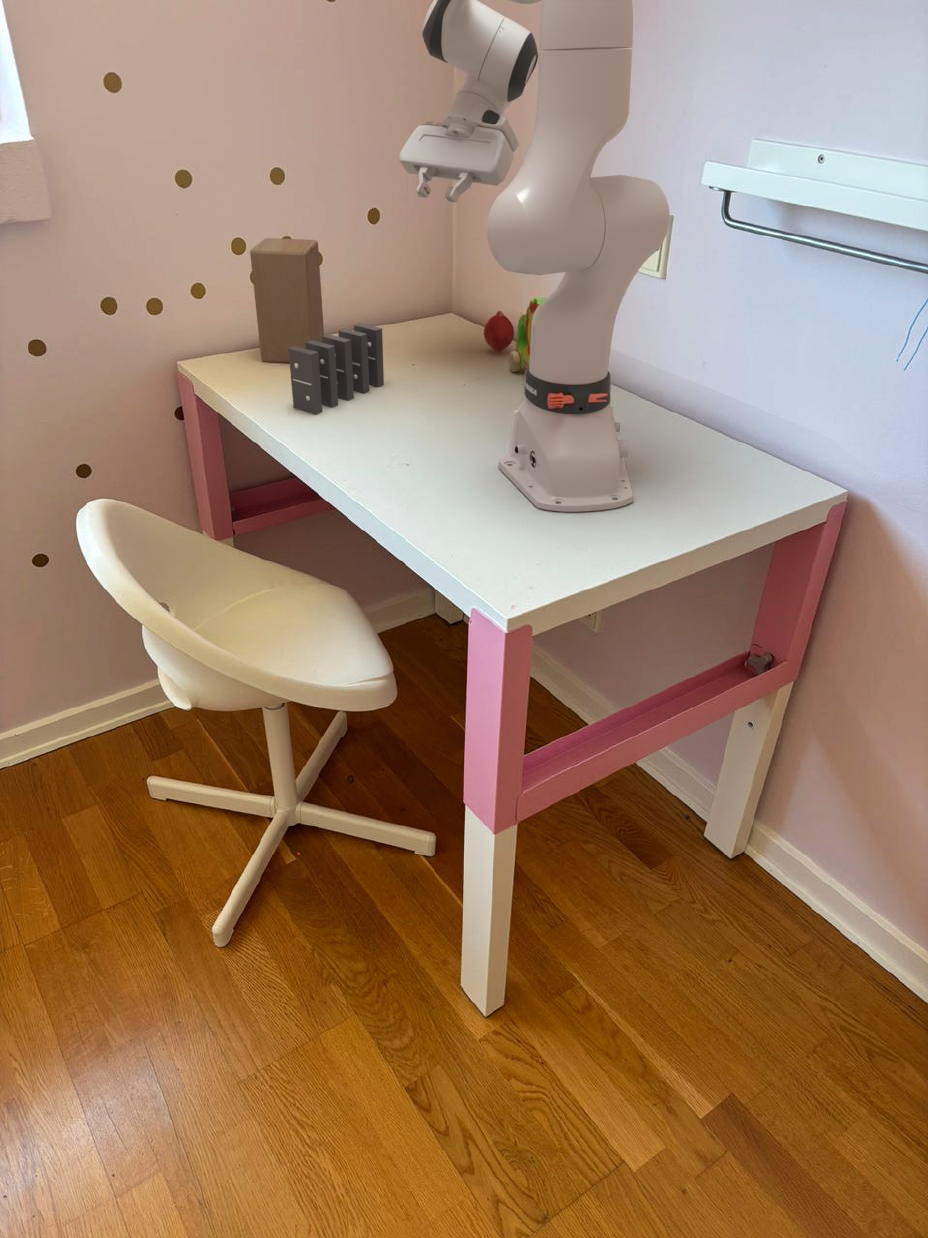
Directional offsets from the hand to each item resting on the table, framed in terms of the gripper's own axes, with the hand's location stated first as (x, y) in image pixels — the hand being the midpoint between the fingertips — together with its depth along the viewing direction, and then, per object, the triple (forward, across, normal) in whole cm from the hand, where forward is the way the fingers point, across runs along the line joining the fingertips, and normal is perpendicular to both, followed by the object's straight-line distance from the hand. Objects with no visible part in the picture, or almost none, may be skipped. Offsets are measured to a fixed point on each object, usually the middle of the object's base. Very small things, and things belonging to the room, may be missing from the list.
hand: (435, 197), depth 158 cm
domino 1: (+41, -5, 0) cm, 42 cm away
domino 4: (+33, -5, +9) cm, 34 cm away
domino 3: (+36, -5, +6) cm, 36 cm away
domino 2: (+38, -5, +3) cm, 39 cm away
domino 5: (+30, -5, +12) cm, 32 cm away
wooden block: (+28, -26, +14) cm, 41 cm away
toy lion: (+17, +18, +25) cm, 35 cm away
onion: (+10, +4, +32) cm, 34 cm away
